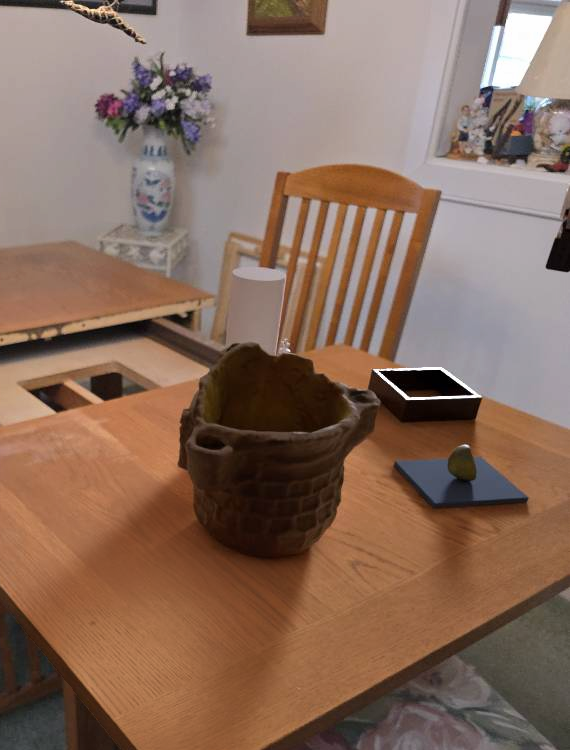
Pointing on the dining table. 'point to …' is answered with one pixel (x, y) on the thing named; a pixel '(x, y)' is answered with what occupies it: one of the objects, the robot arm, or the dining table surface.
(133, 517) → the dining table surface
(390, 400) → the basin
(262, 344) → the cylindrical container
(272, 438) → the ceramic vessel
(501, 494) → the mat
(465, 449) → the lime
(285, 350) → the chess piece
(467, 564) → the dining table surface
